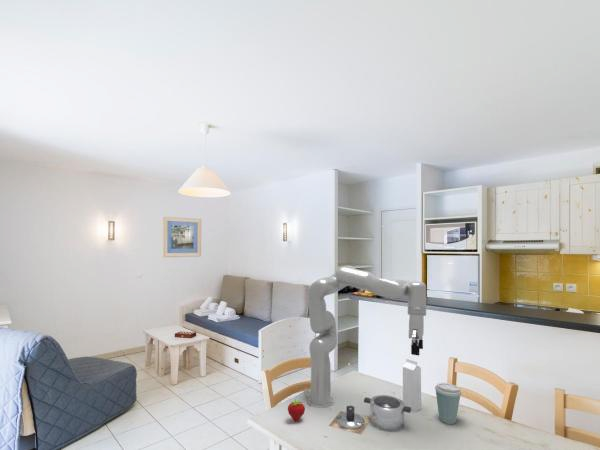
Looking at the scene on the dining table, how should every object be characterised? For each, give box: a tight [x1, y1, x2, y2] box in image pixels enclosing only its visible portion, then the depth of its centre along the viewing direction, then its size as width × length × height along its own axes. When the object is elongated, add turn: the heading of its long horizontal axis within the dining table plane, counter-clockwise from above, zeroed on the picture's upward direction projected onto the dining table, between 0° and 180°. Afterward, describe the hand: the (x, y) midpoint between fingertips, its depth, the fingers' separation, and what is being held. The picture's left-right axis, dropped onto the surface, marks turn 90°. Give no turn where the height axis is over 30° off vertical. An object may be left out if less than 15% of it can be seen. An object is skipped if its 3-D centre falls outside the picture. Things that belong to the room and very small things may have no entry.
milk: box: [402, 358, 422, 413], centre depth 159 cm, size 6×6×22 cm
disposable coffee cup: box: [434, 382, 462, 425], centre depth 148 cm, size 11×11×15 cm
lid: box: [336, 405, 365, 430], centre depth 145 cm, size 12×12×6 cm
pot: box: [363, 394, 412, 433], centre depth 144 cm, size 20×14×9 cm
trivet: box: [328, 410, 370, 435], centre depth 145 cm, size 14×14×1 cm
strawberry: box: [287, 398, 306, 422], centre depth 146 cm, size 6×8×10 cm
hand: (417, 351), depth 144 cm, fingers open, 9 cm apart
